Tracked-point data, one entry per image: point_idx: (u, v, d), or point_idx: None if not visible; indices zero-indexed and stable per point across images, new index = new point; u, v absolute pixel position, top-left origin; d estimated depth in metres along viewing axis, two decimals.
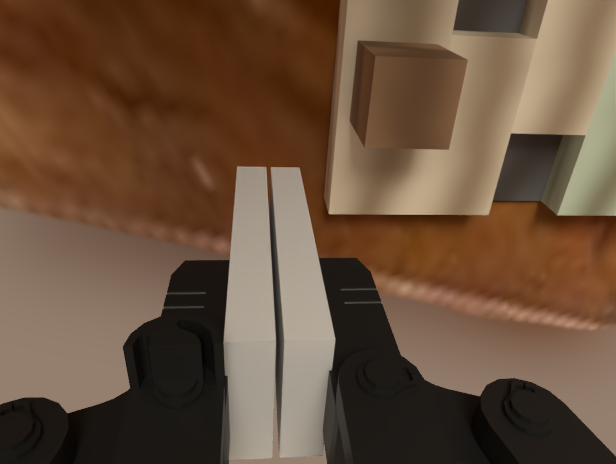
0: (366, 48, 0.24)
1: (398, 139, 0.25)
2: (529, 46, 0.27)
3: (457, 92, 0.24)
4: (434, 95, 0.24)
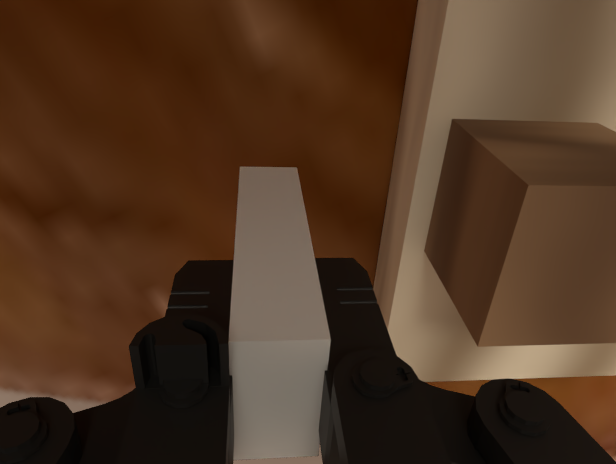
0: (485, 148, 0.12)
1: (547, 330, 0.12)
2: None
3: None
4: None
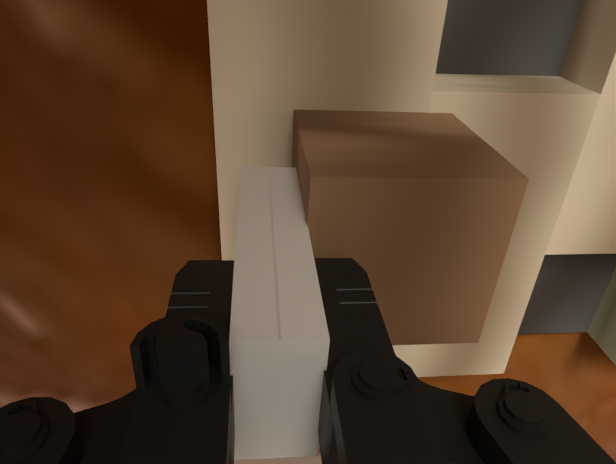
0: (301, 139, 0.11)
1: None
2: (585, 108, 0.14)
3: (501, 242, 0.11)
4: (450, 250, 0.11)
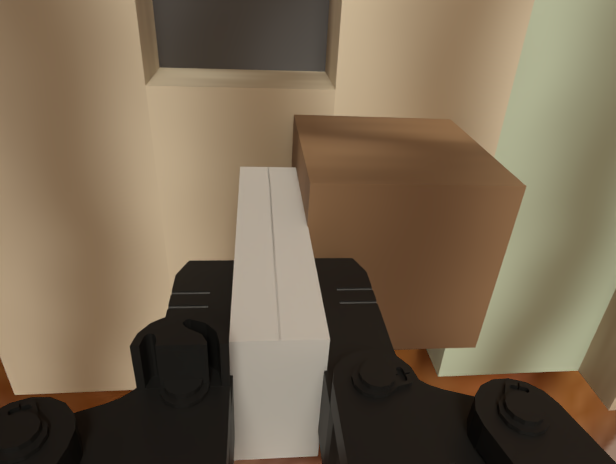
0: (301, 145, 0.11)
1: None
2: (322, 104, 0.13)
3: (498, 248, 0.11)
4: (448, 256, 0.11)
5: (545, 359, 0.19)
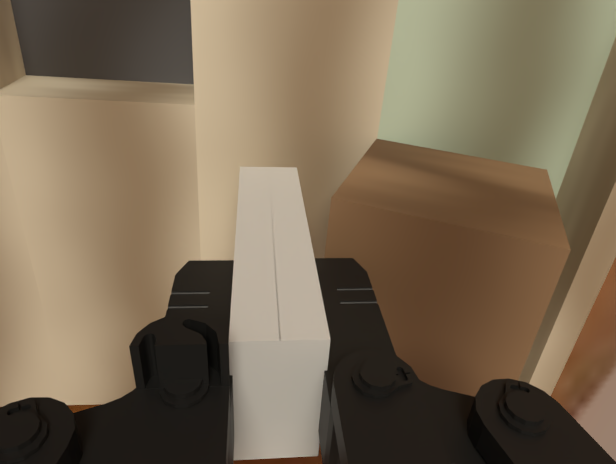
0: (357, 165, 0.12)
1: None
2: (182, 119, 0.13)
3: (533, 315, 0.09)
4: (472, 307, 0.10)
5: None
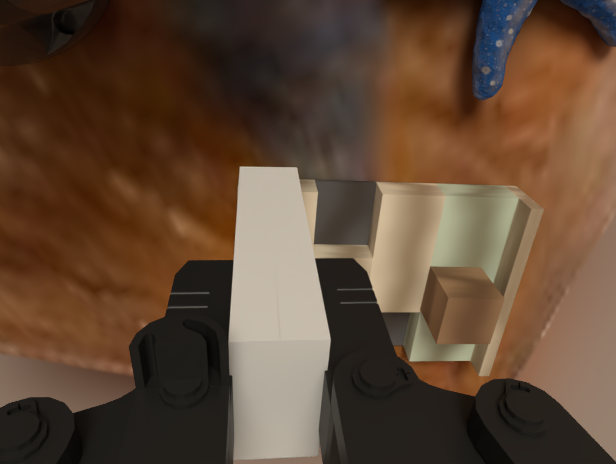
0: (439, 282, 0.38)
1: (458, 339, 0.39)
2: (368, 262, 0.40)
3: (497, 315, 0.38)
4: (483, 316, 0.38)
5: (455, 355, 0.46)
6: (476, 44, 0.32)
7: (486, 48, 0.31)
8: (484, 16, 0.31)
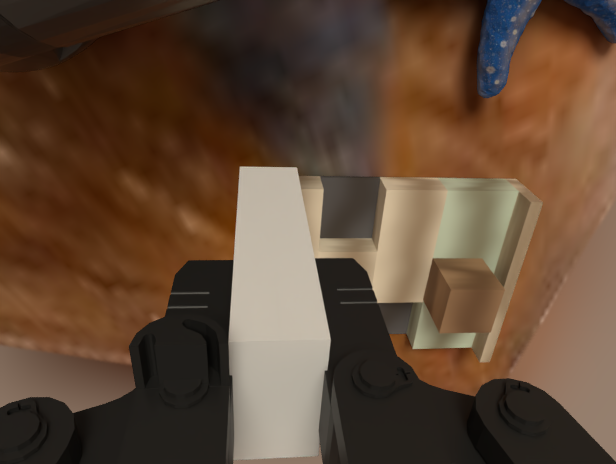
0: (441, 273, 0.40)
1: (460, 328, 0.40)
2: (372, 255, 0.41)
3: (497, 304, 0.39)
4: (484, 306, 0.39)
5: (456, 342, 0.47)
6: (481, 44, 0.33)
7: (491, 48, 0.32)
8: (488, 16, 0.32)
